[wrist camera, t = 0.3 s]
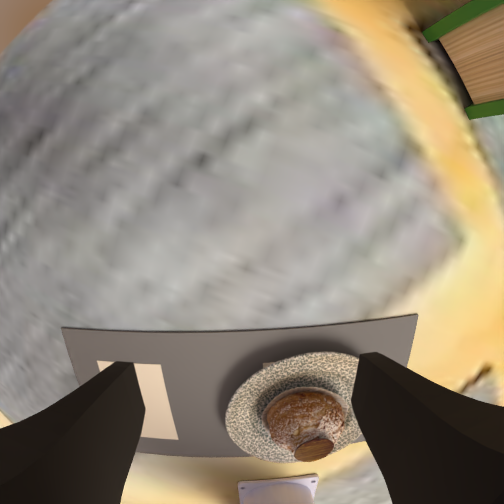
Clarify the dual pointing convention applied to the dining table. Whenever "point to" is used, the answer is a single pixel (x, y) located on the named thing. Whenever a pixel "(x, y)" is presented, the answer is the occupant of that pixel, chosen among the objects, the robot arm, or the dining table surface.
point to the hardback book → (476, 52)
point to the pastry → (296, 408)
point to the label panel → (217, 372)
